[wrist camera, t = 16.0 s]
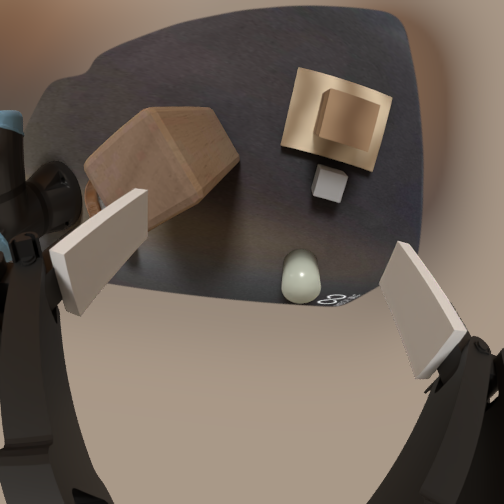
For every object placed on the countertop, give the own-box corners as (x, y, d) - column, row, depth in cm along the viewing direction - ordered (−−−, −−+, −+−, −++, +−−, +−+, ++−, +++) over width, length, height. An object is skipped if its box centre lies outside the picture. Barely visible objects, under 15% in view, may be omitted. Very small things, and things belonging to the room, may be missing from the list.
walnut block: (312, 132, 35) (318, 136, 28) (322, 93, 32) (330, 88, 25) (352, 144, 35) (367, 152, 28) (362, 106, 32) (380, 105, 25)
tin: (104, 171, 43) (76, 185, 36) (117, 167, 42) (88, 180, 35) (128, 244, 50) (106, 266, 43) (141, 242, 49) (119, 265, 42)
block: (243, 160, 40) (204, 201, 22) (190, 189, 43) (126, 246, 26) (211, 104, 36) (146, 102, 18) (160, 138, 39) (77, 165, 22)
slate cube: (311, 187, 40) (313, 195, 37) (317, 163, 38) (320, 168, 35) (335, 194, 40) (339, 203, 37) (342, 170, 38) (348, 176, 35)
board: (281, 144, 38) (280, 145, 36) (298, 68, 32) (298, 67, 30) (369, 169, 37) (372, 171, 36) (388, 98, 31) (392, 97, 30)
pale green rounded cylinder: (279, 274, 48) (277, 298, 42) (288, 245, 45) (287, 267, 39) (311, 281, 48) (313, 306, 42) (322, 253, 45) (326, 276, 39)
